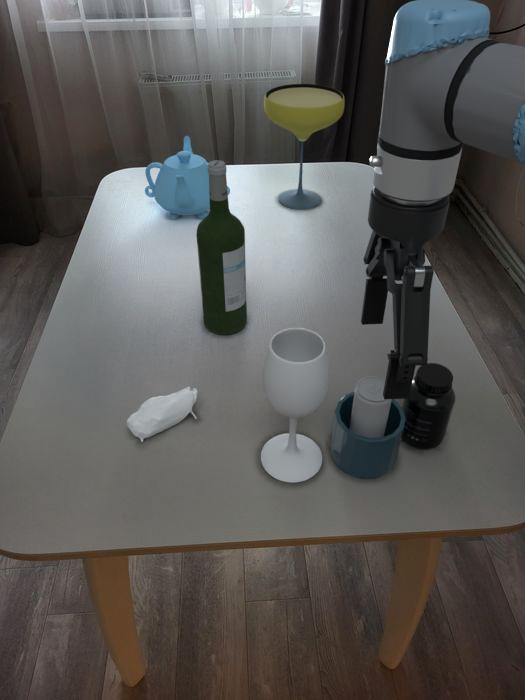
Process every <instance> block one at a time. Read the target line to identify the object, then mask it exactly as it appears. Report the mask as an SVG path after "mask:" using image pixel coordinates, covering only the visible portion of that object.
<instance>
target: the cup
mask: <svg viewBox="0 0 525 700" xmlns="http://www.w3.org/2000/svg"><path fill="white" fill-rule="evenodd" d="M354 393H355V390H354V391H351V392H349V393H346V394H345V395H344V396H342V397H341V398H340V399H339V400H338V401H337V403H336V406H335V409H334V416H333V422H332V423H333V424H332V432H331V439H330V440H331V441H330V454H331V459H332V460H333V462H334V464H335V465H336V467H338V468H339V469H340V470H341V471H342V472H344V473H345V474H347V475H349V476H351V477H354V478H357V479H362V480H373V479H378V478H381V477H383V476H385V475H387V474H388V473H389V472H390V471H391V470H392V469H393V468H394V466H395V465H396V461H397V456H398V454H399V453H398V452H399V449H400V445H401V441H402V439H401V437H402V433H403V429H404V425H405V420H406V418H405V414H404V411H403V408H402V407H401V406H402V405H400V403H398V402H397V400H396V399H392V401H391V405H390V410H389V415H388V419H387V424H386V429H385V433H384V437H383V438H368V437H364V436H361V435H357V434H356V433H354V432H352V431H351V430H349V428H350V422H351V415H352V407H353V400H354Z"/></svg>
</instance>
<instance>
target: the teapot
mask: <svg viewBox="0 0 525 700" xmlns="http://www.w3.org/2000/svg"><path fill="white" fill-rule="evenodd" d="M191 143H192V142H191V137H190V136H189V135H185V136H184V137H183V147H182V149H183V150H181V151H178V152H177V153H176V154H175V155H172V156H169V157H168V158H166V159H165V160H164V162H163V163H161V162H152V163H150V164H148V165H147V166H146V168H145V170H144V171H145V178H146V180H147V183H148V185H146V186H145V188H144V194H145V195H146V196H147V197H148V198H154V200H155V201H156V203H157V204H158V205H159V206H160V207H161V208H162V209H163V210H164V211H166V212H168V216H167V217H168V218H169V219H172V220H175V219H178V218H180V217H181V216H194V215H196V218H199V219H203V218H204V217H205V216H206V215H208V214H209V211H210V197H209V173H208V165H209V162H208V161H207V160H206V159H205V158H204V157H203V156H201V155H198V154H195V153H194V152H193V149H192V144H191ZM154 168H155V169H159V171H158V173H157V176H156V178H155V182H154V180H153V178H152V175H151V169H154ZM150 190H151V191H150ZM227 192H228V196H229V195H230V193H231V188H230V187H229V186H228V185H227Z"/></svg>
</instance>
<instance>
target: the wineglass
mask: <svg viewBox="0 0 525 700" xmlns="http://www.w3.org/2000/svg"><path fill="white" fill-rule="evenodd" d="M265 352H266V353H265V356H264V361H263V367H262V388H263V393H264V397H265V399H266V401H267V402H268V405H270V407H271V408H272V409H273V410H275V411H276V412H277V413H278V414H280V415H281V416H284V417H287V418H289V432H288V433H281V434H278V435H276V436H273V437H272V438H270V439H269V440H268V441H267V442H265V444H264V445H263V447H262V449H261V452H260V462H261V465H262V467H263V469H264V470H265V471H266V473H267V474H268V475H269V476H271V477H272V478H274V479H276V480H278V481H280V482H283V483H291V484H293V483H295V484H296V483H301V482H305V481H308V480H310V479H311V478H313V477H314V476H315V475H316V474H317V473H318V472H319V471H320V470H321V467H322V464H323V453H322V450H321V448H320V447H319V445H318V444H317V443H316V442H315V441H314V440H313V439H312V438H309V437H308V436H306V435H303V434H299V433H297V428H298V419H299V418H304V417H307V416H309V415H311V414H313V413H314V412H316V411H317V410H318V409H319V408H320V407H321V406H322V405H323V403H324V401H325V399H326V397H327V393H328V389H329V382H330V362H329V361H330V360H329V354H328V349H327V345H326V342H325V340H324V338H323V337H322V336H321V335H320V334H319V333H318V332H315V331H314V330H311V329H308V328H304V327H289V328H285V329H282V330H280V331H278V332H276V333H275V334H274V335H273V336H272V337H271V338H270V340H269V343H268V346H267V350H266V351H265Z"/></svg>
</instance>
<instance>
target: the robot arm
mask: <svg viewBox="0 0 525 700" xmlns="http://www.w3.org/2000/svg"><path fill="white" fill-rule="evenodd" d="M490 22H491V11H490V9H489V7H488V6H487V5H486V4H483V3H481V2H480V3H479V2H478V1H474V0H411V1H409V2H407V3H405V4H403V5H402V6H400V7H399V9H398V10H397V12H396V13H395V16H394V18H393V22H392V29H391V33H390V39H389V44H388V49H387V56H386V58H385V60H384V65H385V70H384V81H383V90H382V91H383V94H382V102H381V103H382V105H381V113H380V122H379V123H380V124H379V131H378V136H377V146H376V150H377V151H376V155H371V156H370V158H369V166H370V167H373V169H374V170H373V177H372V178H373V179H372V183H373V188H372V189H371V191H370V197H369V207H368V214H367V223H368V226H369V227H370V229H371V230H372V232H371V234H370V237H369V240H368V243H367V247H366V250H365V253H364V257H363V259H362V260H363V264H364V265H366V266H367V267H366V268H365V275H366V277H367V278H366V279H365V286H364V294H363V303H362V310H361V317H360V323H361V325H362V326H363V325H365V326H366V325H383V324H384V318H385V311H386V306H387V301H388V294H389V293H390V294H391V295H392V298H391V299H392V320H393V321H392V323H393V324H392V325H393V349H390V351H389V352H390V353H387V354H386V355H387V359H388V363H387V364H388V365H387V369H386V374H385V375H386V376H385V385H384V391H383V397H384V399H394V400H403V399H406V398H409V393H410V389H411V384H412V380H413V379H414V377H415V371H416V367H417V366H418V367H419V366H421V365H427V363H428V361H429V332H430V313H431V312H430V311H431V310H430V309H431V291H432V290H431V289H432V284H433V277H434V271H435V270H434V267H433V265H425V263H426V251H425V248H424V245H426V243H428V242H430V241H431V240H433V239H436V238H437V237H438V236H440V235H441V234H442V232H443V231H444V229H445V226H446V221H447V216H448V212H449V208H450V203H451V195H450V194H451V193H452V192H453V190H454V188H455V184H456V179H457V174H458V169H459V166H460V160H461V156H462V153H463V152H462V151H463V145H467V146H471V147H473V148H476V149H479V150H481V151H484V152H487V153H490V154H493V155H496V156H498V157H501V158H504V159H507V160H509V161H512V162H516V163H518V164H521V165H523V166H525V46H523V45H517V44H510V43H505V42H502V41H498V40H496V39H493V38H489V36H490V31H491V30H490ZM397 282H402V283H397Z"/></svg>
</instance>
